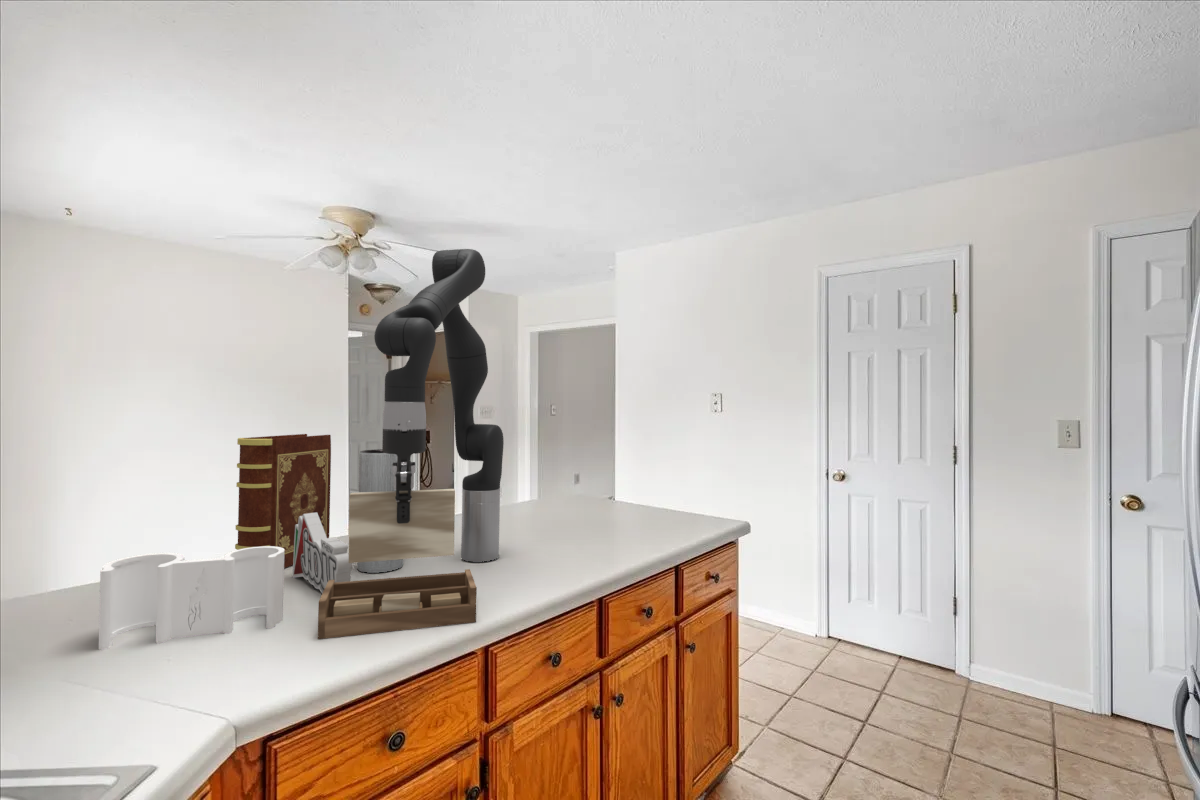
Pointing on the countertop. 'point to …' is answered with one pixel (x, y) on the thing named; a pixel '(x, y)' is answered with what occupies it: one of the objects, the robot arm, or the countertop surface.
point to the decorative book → (281, 488)
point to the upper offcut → (400, 601)
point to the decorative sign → (319, 554)
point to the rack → (401, 618)
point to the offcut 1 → (353, 607)
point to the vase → (377, 479)
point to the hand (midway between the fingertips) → (403, 520)
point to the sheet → (401, 526)
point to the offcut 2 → (445, 600)
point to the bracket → (190, 593)
